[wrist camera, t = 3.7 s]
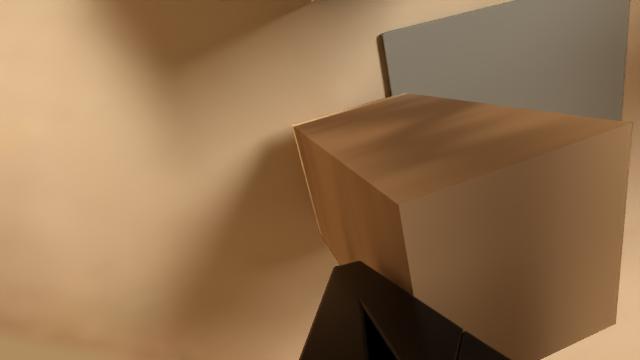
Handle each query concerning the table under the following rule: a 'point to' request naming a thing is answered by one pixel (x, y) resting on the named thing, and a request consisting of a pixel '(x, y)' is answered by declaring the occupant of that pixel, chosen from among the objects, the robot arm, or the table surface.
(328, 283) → the robot arm
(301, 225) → the table surface
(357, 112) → the walnut block
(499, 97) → the felt pad
